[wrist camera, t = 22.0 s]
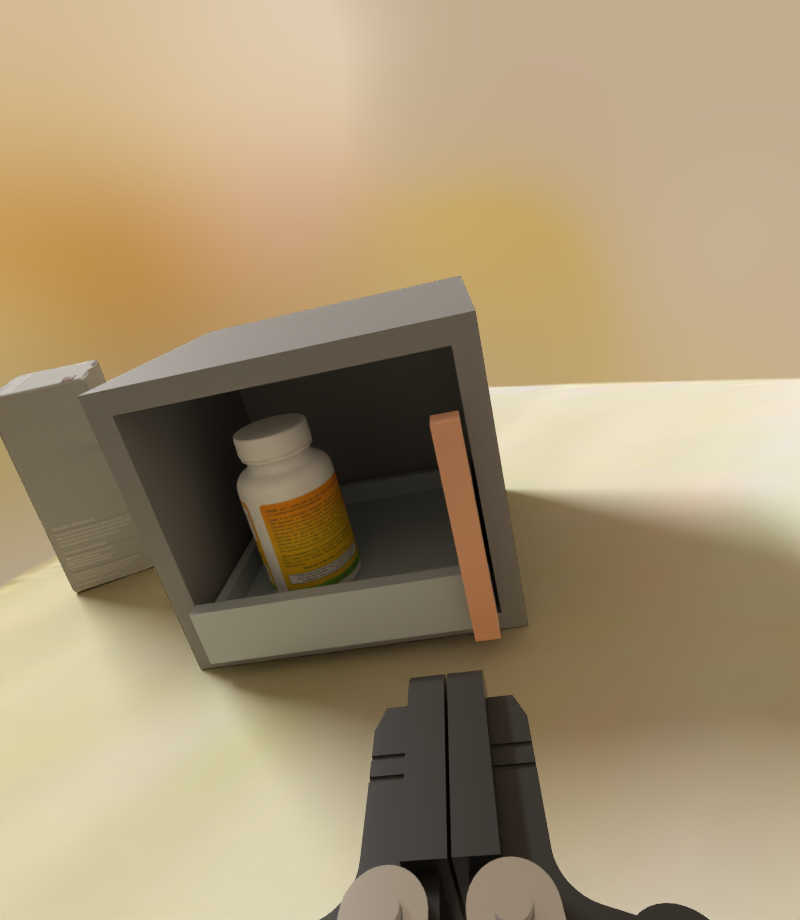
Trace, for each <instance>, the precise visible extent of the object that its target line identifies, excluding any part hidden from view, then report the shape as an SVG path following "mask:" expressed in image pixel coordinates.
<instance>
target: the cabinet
mask: <svg viewBox="0 0 800 920" xmlns="http://www.w3.org/2000/svg"><path fill="white" fill-rule="evenodd" d="M77 397H78V399H79V401H80V403H81V406H82V408H83V410H84V412H85V414H86V417H87V419H88V421H89V423H90V425H91V428H92V430H93V432H94V434H95V437H96V439H97V441H98V443H99V445H100V448H101V450H102V452H103V454H104V456H105V459H106V461H107V463H108V465H109V467H110V470H111V472H112V474H113V476H114V478H115V481H116V483H117V485H118V487H119V490H120V492H121V494H122V496H123V498H124V501H125V503H126V505H127V507H128V509H129V512H130V514H131V516H132V518H133V520H134V523H135V525H136V527H137V529H138V532H139V534H140V536H141V538H142V540H143V543H144V545H145V547H146V549H147V551H148V554H149V556H150V558H151V560H152V562H153V565H154V567H155V569H156V571H157V573H158V576H159V578H160V580H161V582H162V585H163V587H164V589H165V591H166V593H167V596H168V598H169V600H170V602H171V604H172V607H173V609H174V611H175V613H176V615H177V618H178V620H179V622H180V624H181V626H182V629H183V631H184V633H185V635H186V638H187V640H188V642H189V644H190V646H191V649H192V651H193V653H194V655H195V657H196V660H197V662H198V664H199V666H200V668H201V669H209V668H216V667H223V666H231V665H238V664H246V663H253V662H260V661H268V660H275V659H283V658H290V657H297V656H305V655H312V654H320V653H327V652H334V651H342V650H349V649H356V648H364V647H371V646H379V645H386V644H393V643H401V642H408V641H416V640H423V639H430V638H438V637H445V636H453V635H460V634H467V633H474V631H473V629H465V630H458V631H451V632H443V633H436V634H429V635H421V636H414V637H407V638H399V639H392V640H385V641H377V642H370V643H363V644H355V645H348V646H341V647H333V648H326V649H319V650H311V651H304V652H297V653H289V654H282V655H275V656H267V657H260V658H253V659H245V660H238V661H231V662H223V663H216V664H211V663H210V661H209V659H208V656H207V654H206V652H205V650H204V647H203V645H202V643H201V641H200V638H199V636H198V634H197V632H196V629H195V627H194V625H193V623H192V620H191V618H190V616H189V615H190V614H191V612H192V610H193V609H194V607H195V606H196V605H202V604H209V603H215V601H216V599H217V598H218V596H219V594H220V593H221V591H222V589H223V587H224V586H225V584H226V582H227V581H228V579H229V577H230V576H231V574H232V572H233V570H234V569H235V567H236V565H237V564H238V562H239V560H240V558H241V557H242V555H243V553H244V552H245V550H246V548H247V546H248V545H249V543H250V541H251V540H252V538H253V533H252V531H251V528H250V525H249V522H248V520H247V517H246V514H245V512H244V509H243V506H242V504H241V501H240V498H239V495H238V491H237V481H238V478H239V476H240V474H241V473H242V471H243V470H244V469H245V468H246V467H247V464H244V463H242V462H241V460H240V458H239V457H238V454H237V451H236V447H235V444H234V441H233V435H234V434H235V433H236V432H237V431H238V430H240V429H241V428H243V427H245V426H247V425H249V424H251V423H254V422H256V421H259V420H262V419H265V418H268V417H272V416H277V415H282V414H290V413H298V414H302V415H304V416H305V417H306V420H307V423H308V426H309V429H310V432H311V437H312V442H311V444H310V447H314V448H318V449H320V450H322V451H324V452H325V453H327V454H328V456H329V457H330V459H331V461H332V463H333V466H334V469H335V473H336V476H337V480H338V483H339V485H341V484H347V483H352V482H358V481H363V480H369V479H375V478H380V477H386V476H391V475H397V474H403V473H408V472H414V471H419V470H425V469H431V468H436V467H438V462H437V457H436V453H435V448H434V443H433V439H432V434H431V429H430V416H431V415H436V414H441V413H447V412H452V411H457V410H458V411H459V416H460V421H461V427H462V432H463V437H464V442H465V448H466V453H467V458H468V462H471V467H472V473H473V478H474V483H475V488H476V495H477V502H478V509H479V516H480V523H481V530H482V537H483V542H484V547H485V552H486V558H487V561H488V566H489V571H490V577H491V582H492V587H493V592H494V598H495V603H496V608H497V613H498V619H499V627H500V629H504V628H512V627H519V626H526V625H528V622H527V616H526V610H525V604H524V598H523V592H522V586H521V580H520V574H519V568H518V562H517V556H516V550H515V544H514V538H513V532H512V526H511V520H510V514H509V508H508V502H507V496H506V490H505V484H504V478H503V472H502V466H501V460H500V455H499V449H498V443H497V437H496V431H495V425H494V419H493V413H492V407H491V401H490V395H489V389H488V383H487V378H486V372H485V365H484V359H483V353H482V347H481V341H480V335H479V329H478V323H477V317H476V311H475V308H474V306H473V304H472V301H471V299H470V297H469V294H468V292H467V290H466V287H465V285H464V283H463V281H462V279H461V276H457V277H452V278H448V279H443V280H439V281H434V282H430V283H425V284H421V285H416V286H412V287H408V288H403V289H399V290H394V291H390V292H385V293H381V294H377V295H372V296H368V297H363V298H359V299H354V300H350V301H346V302H341V303H337V304H333V305H328V306H323V307H319V308H315V309H310V310H305V311H301V312H297V313H292V314H288V315H283V316H279V317H274V318H270V319H266V320H261V321H257V322H252V323H248V324H243V325H239V326H234V327H230V328H226V329H221V330H217V331H212V332H209V333H207V334H205V335H203V336H201V337H198V338H197V339H194V340H192V341H191V342H188V343H186V344H184V345H182V346H180V347H178V348H176V349H174V350H172V351H170V352H167V353H165V354H163V355H161V356H159V357H157V358H155V359H153V360H151V361H149V362H147V363H145V364H143V365H141V366H139V367H137V368H134V369H132V370H130V371H128V372H126V373H125V374H122V375H120V376H118V377H116V378H114V379H112V380H110V381H108V382H106V383H103V384H101V385H99V386H97V387H95V388H93V389H91V390H89V391H87V392H85V393H83V394H81V395H79V396H77Z"/></svg>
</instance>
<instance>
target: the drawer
mask: <svg viewBox="0 0 800 920" xmlns="http://www.w3.org/2000/svg"><path fill="white" fill-rule="evenodd" d="M430 429H431V434H432V439H433V443H434V448H435V453H436V457H437V462H438V467H436V468H431V469H425V470H419V471H414V472H408V473H403V474H397V475H391V476H386V477H380V478H375V479H369V480H363V481H358V482H352V483H347V484H341V485H339V487H340V490H341V494H342V497H343V501H344V504H345V507H346V510H347V514H348V518H349V521H350V524H351V528H352V531H353V535H354V538H355V541H356V545H357V548H358V551H359V555H360V559H361V567H360V570H359V572H358V574H357V576H356V577H355V578H354V580H353V581H352V582H346V583H340V584H333V585H327V586H320V587H314V588H307V589H301V590H294V591H287V592H281V593H275V592H274V590H273V587H272V585H271V583H270V580H269V577H268V575H267V572H266V569H265V567H264V564H263V561H262V558H261V555H260V553H259V550H258V547H257V544H256V542H255V539H254V536H253V538H252V540H251V541H250V543H249V545H248V546H247V548H246V550H245V552H244V553H243V555H242V557H241V558H240V560H239V562H238V564H237V565H236V567H235V569H234V570H233V572H232V574H231V576H230V577H229V579H228V581H227V582H226V584H225V586H224V587H223V589H222V591H221V593H220V594H219V596H218V598H217V599H216V601H215V603H209V604H202V605H196V606H195V607H194V609H193V610H192V612H191V614H190V615H189V616H190V618H191V620H192V623H193V625H194V627H195V629H196V632H197V634H198V636H199V638H200V641H201V643H202V645H203V647H204V650H205V652H206V654H207V656H208V659H209V661H210V663H211V664H216V663H223V662H231V661H238V660H245V659H253V658H260V657H267V656H275V655H282V654H289V653H297V652H304V651H311V650H319V649H326V648H333V647H341V646H348V645H355V644H363V643H370V642H377V641H385V640H392V639H399V638H407V637H414V636H421V635H429V634H436V633H443V632H451V631H458V630H465V629H473V631H474V636H475V640H476V642H478V641H485V640H493V639H500V638H501V633H500V627H499V619H498V613H497V608H496V603H495V598H494V592H493V587H492V582H491V577H490V571H489V566H488V561H487V558H486V552H485V547H484V542H483V537H482V530H481V523H480V516H479V509H478V502H477V495H476V488H475V483H474V478H473V473H472V467H471V462H468V458H467V453H466V448H465V442H464V437H463V432H462V427H461V421H460V416H459V411H458V410H457V411H452V412H447V413H441V414H436V415H431V416H430Z"/></svg>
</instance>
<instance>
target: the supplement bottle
mask: <svg viewBox="0 0 800 920" xmlns="http://www.w3.org/2000/svg"><path fill="white" fill-rule="evenodd" d="M233 441H234V444H235V447H236V451H237V454H238V457H239V458H240V460H241V462H242V463H244V464H247V467H246V468H245V469H244V470H243V471H242V473H241V474H240V476H239V478H238V481H237V491H238V495H239V498H240V501H241V504H242V506H243V509H244V512H245V514H246V517H247V520H248V522H249V525H250V528H251V531H252V533H253V536H254V539H255V542H256V544H257V547H258V550H259V553H260V555H261V558H262V561H263V564H264V567H265V569H266V572H267V575H268V577H269V580H270V583H271V585H272V587H273V590H274V592H275V593H281V592H287V591H294V590H301V589H307V588H314V587H320V586H327V585H333V584H340V583H346V582H352V581H353V580H354V578H355V577H356V576H357V574H358V572H359V570H360V567H361V559H360V555H359V551H358V548H357V545H356V541H355V538H354V535H353V531H352V528H351V524H350V521H349V518H348V514H347V510H346V507H345V504H344V501H343V497H342V494H341V490H340V487H339V483H338V480H337V476H336V473H335V469H334V466H333V463H332V461H331V459H330V457H329V456H328V454H327V453H325V452H324V451H322V450H320V449H318V448H314V447H310V444H311V442H312V437H311V432H310V429H309V426H308V423H307V420H306V417H305V416H304V415H302V414H298V413H290V414H282V415H277V416H272V417H268V418H265V419H262V420H259V421H256V422H254V423H251V424H249V425H247V426H245V427H243V428H241V429H240V430H238V431H237V432H236V433H235V434H234V435H233Z"/></svg>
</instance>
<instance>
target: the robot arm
mask: <svg viewBox="0 0 800 920" xmlns="http://www.w3.org/2000/svg"><path fill="white" fill-rule="evenodd" d="M372 759H373V760H372V762H371V770H370V782H369V787H368V796H367V805H366V813H365V822H364V831H363V839H362V848H361V857H360V864H359V869H358V873H357V876H356V879H355V881H354V882H353V883H352V885H351V886H350V887H349V889H348V890H347V892H346V894H345V895H344V898H343V900H342V902H341V903H340V904H339V905H338V906H337V907H336V908H335V909H334V910H333V911H332V912H331V913H329V914H328V915H327V916H325V917H323V918H322V919H320V920H709V919H708V918H706V917H705V916H704V915H702V914H700V913H698V912H697V911H695V910H693V909H690V908H688V907H686V906H682V905H678V904H672V903H661V904H655V905H652V906H649V907H647V908H646V909H644V910H642V911H641V912H640V913H639V914H638V915H634V914H631V913H627V912H624V911H621V910H618V909H615V908H611V907H608V906H605V905H602V904H600V903H597V902H595V901H592V900H591V899H589V898H587V897H585V896H584V895H582V894H581V893H580V892H578V891H577V890H576V889H575V888H574V887H573V886H572V885H571V884H570V883H569V882H568V881H567V880H566V879H565V877H564V876H563V875H562V873H561V871H560V870H559V868H558V866H557V864H556V862H555V859H554V857H553V853H552V849H551V845H550V839H549V834H548V828H547V823H546V817H545V812H544V806H543V801H542V795H541V790H540V784H539V779H538V773H537V768H536V763H535V757H534V752H533V746H532V741H531V735H530V730H529V724H528V719H527V715H526V714H525V712H524V711H523V709H522V708H521V707H520V705H519V704H518V702H517V701H516V700H515V698H514V697H513V695H508V696H498V697H489V698H488V696H487V690H486V685H485V680H484V675H483V671H482V670H479V671H470V672H461V673H452V674H447V678H446V675H436V676H427V677H418V678H411V679H410V681H409V693H408V706H406V707H396V708H387V710H386V712H385V714H384V716H383V717H382V719H381V721H380V723H379V725H378V727H377V728H376V730H375V736H374V744H373V753H372Z"/></svg>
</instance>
